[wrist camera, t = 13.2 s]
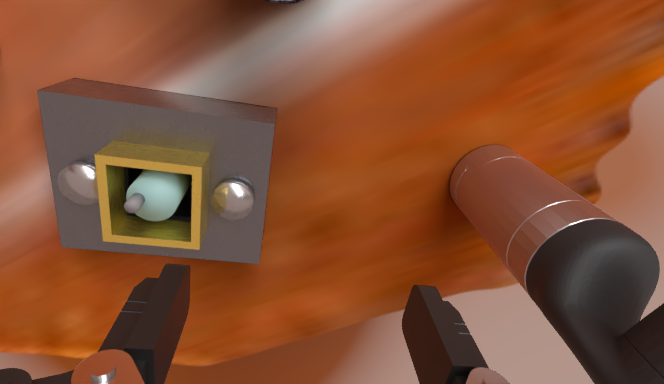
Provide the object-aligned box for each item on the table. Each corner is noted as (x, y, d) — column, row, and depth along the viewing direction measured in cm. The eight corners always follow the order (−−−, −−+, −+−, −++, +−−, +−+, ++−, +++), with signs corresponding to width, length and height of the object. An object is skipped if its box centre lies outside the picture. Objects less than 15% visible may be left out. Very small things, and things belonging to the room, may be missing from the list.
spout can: (197, 151, 41) (172, 189, 33) (196, 187, 43) (172, 232, 35) (154, 145, 41) (117, 183, 32) (155, 182, 43) (120, 227, 34)
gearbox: (277, 108, 41) (272, 135, 32) (263, 234, 47) (256, 285, 39) (73, 77, 38) (9, 99, 29) (89, 217, 44) (41, 268, 36)
